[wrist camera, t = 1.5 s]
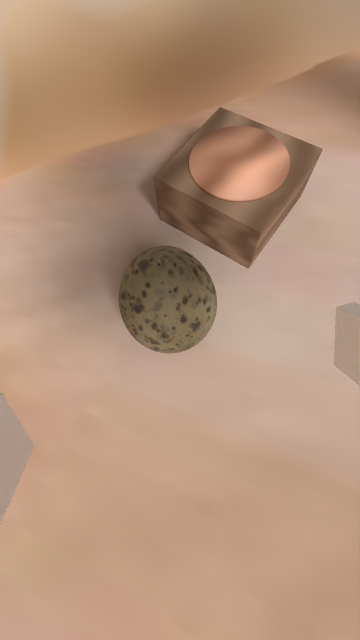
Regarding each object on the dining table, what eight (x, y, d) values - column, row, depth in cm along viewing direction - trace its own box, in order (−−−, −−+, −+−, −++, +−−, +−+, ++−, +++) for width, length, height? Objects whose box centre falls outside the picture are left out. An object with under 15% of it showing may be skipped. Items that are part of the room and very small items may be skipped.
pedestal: (300, 196, 43) (324, 146, 35) (248, 268, 39) (261, 230, 31) (216, 157, 47) (220, 104, 39) (160, 219, 43) (153, 174, 35)
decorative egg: (195, 278, 39) (196, 198, 25) (225, 345, 35) (245, 297, 21) (124, 302, 38) (84, 235, 24) (147, 374, 35) (115, 344, 21)
